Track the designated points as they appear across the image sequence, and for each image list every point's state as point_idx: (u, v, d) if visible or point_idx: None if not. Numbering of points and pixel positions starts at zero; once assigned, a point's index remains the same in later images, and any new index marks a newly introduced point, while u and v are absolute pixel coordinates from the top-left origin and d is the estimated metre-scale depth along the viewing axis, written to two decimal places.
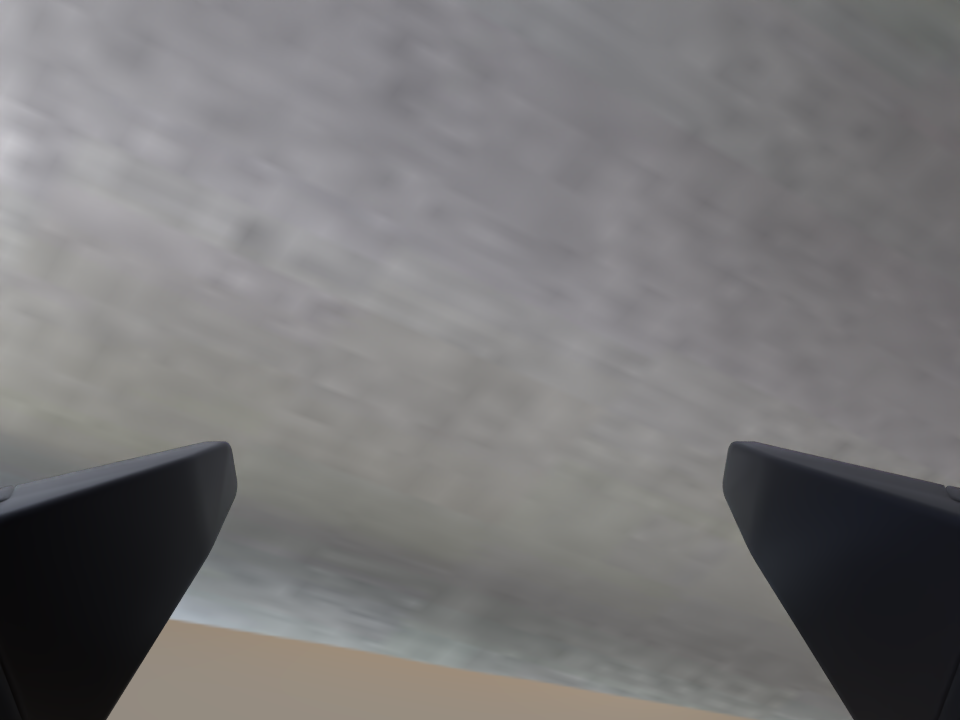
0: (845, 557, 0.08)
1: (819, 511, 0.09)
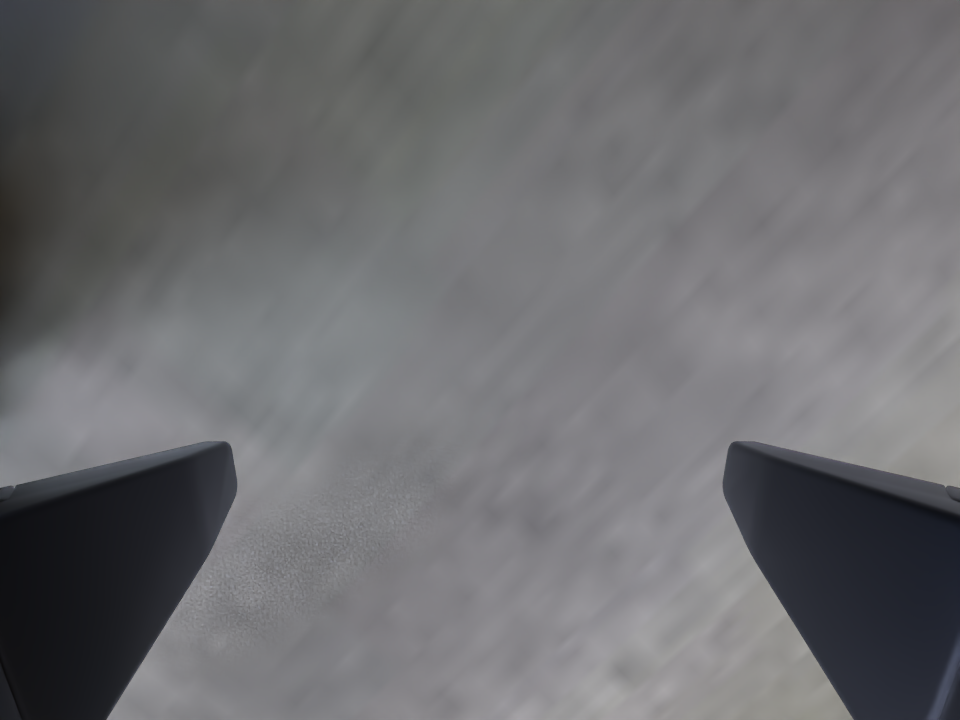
0: (845, 557, 0.08)
1: (819, 511, 0.09)
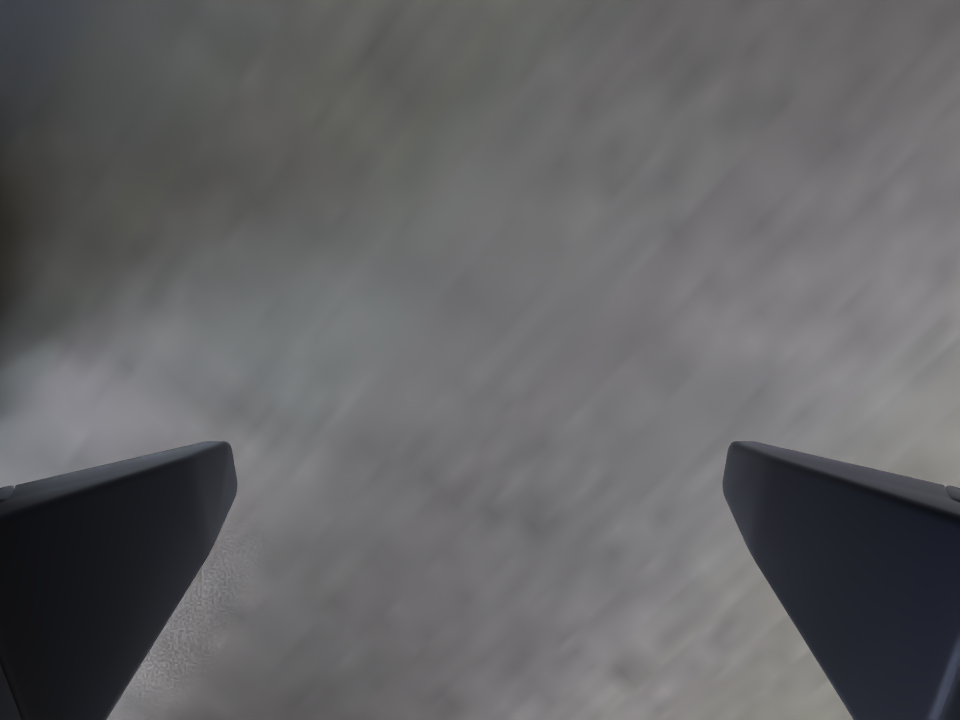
0: (845, 557, 0.08)
1: (819, 511, 0.09)
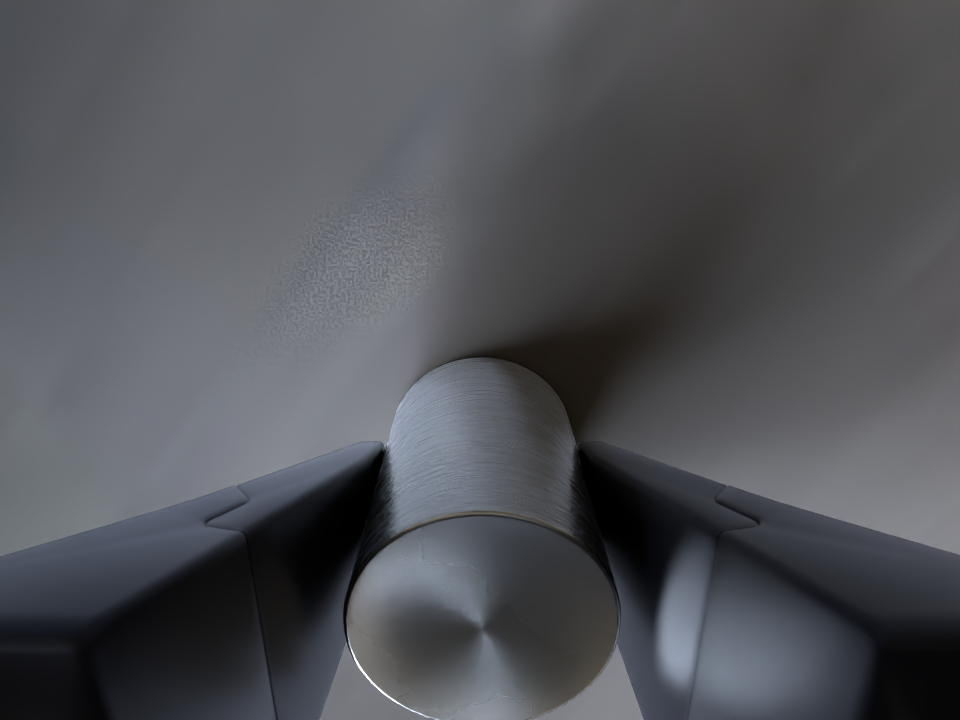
0: (635, 557, 0.08)
1: (620, 511, 0.09)
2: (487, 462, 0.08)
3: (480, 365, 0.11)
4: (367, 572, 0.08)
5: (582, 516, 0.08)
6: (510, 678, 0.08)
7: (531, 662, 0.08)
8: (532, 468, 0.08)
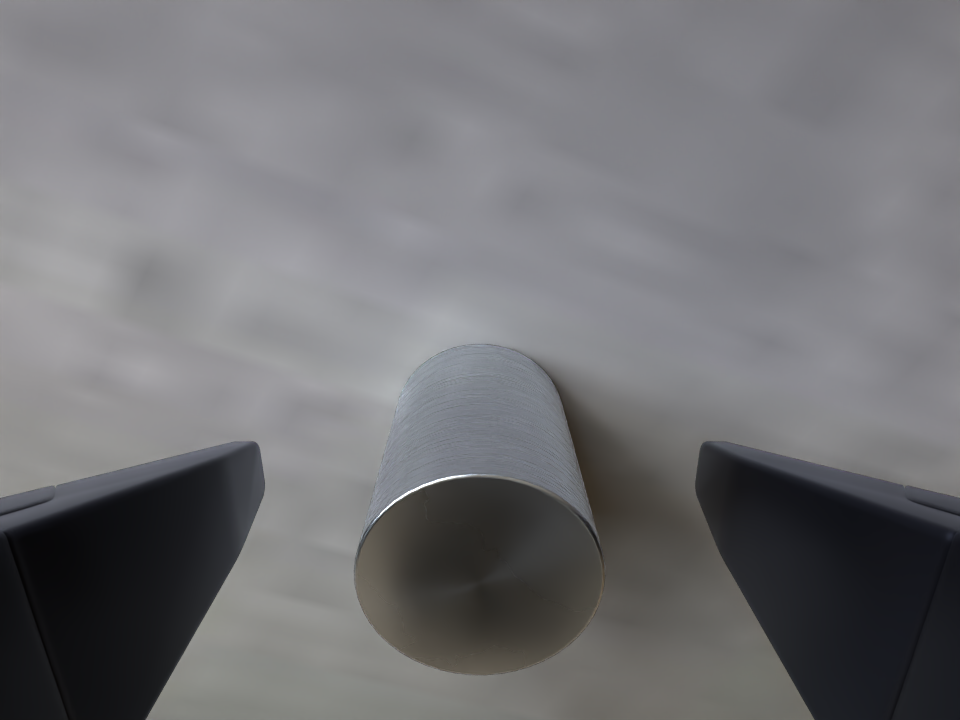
0: (806, 557, 0.08)
1: (782, 511, 0.09)
2: (484, 434, 0.09)
3: (478, 351, 0.12)
4: (376, 531, 0.08)
5: (570, 482, 0.09)
6: (505, 628, 0.09)
7: (524, 614, 0.09)
8: (526, 439, 0.09)
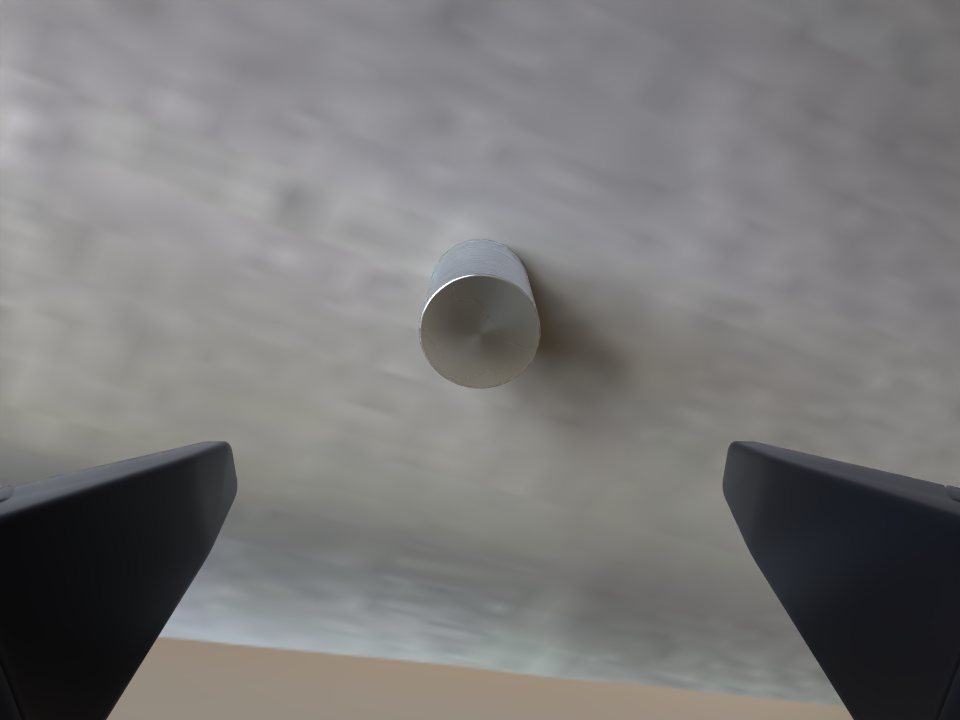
0: (845, 557, 0.08)
1: (819, 511, 0.09)
2: (482, 265, 0.18)
3: (479, 242, 0.22)
4: (431, 304, 0.18)
5: (524, 287, 0.18)
6: (492, 360, 0.18)
7: (501, 351, 0.18)
8: (502, 268, 0.19)
